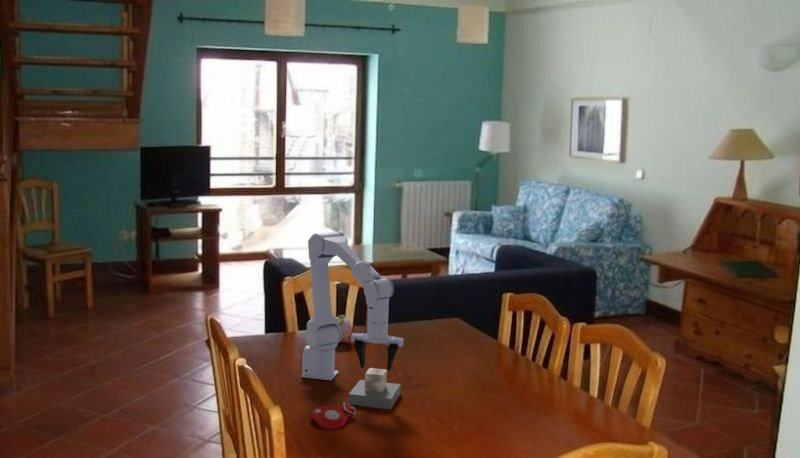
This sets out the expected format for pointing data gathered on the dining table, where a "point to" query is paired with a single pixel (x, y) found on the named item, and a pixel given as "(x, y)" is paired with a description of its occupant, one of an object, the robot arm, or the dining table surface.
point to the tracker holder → (332, 416)
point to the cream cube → (375, 380)
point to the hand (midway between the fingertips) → (375, 368)
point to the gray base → (374, 396)
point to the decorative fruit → (344, 327)
